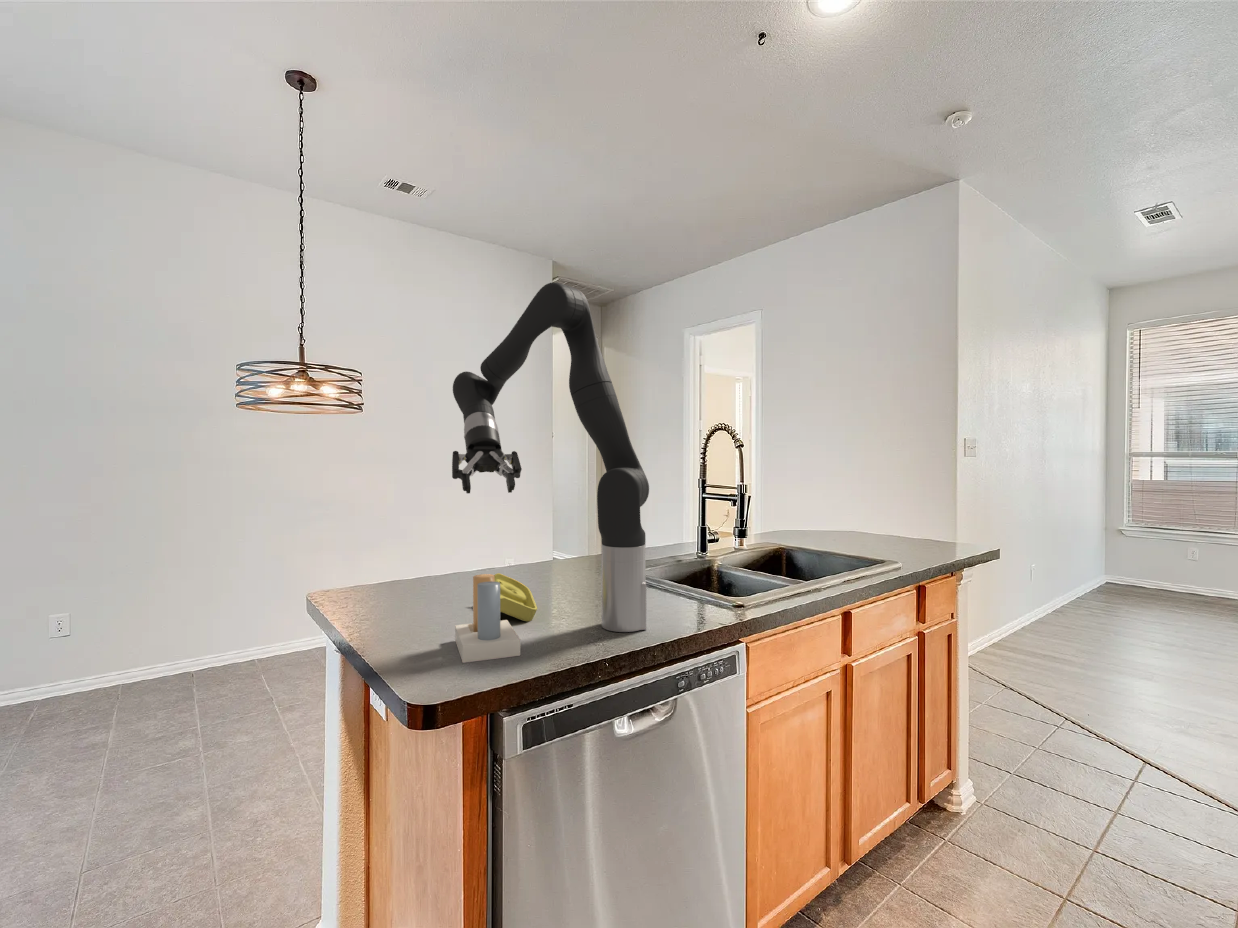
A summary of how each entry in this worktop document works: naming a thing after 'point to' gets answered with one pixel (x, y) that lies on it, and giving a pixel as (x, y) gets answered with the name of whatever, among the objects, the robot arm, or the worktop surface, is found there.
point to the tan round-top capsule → (476, 581)
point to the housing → (487, 630)
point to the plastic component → (515, 598)
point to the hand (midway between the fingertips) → (490, 490)
